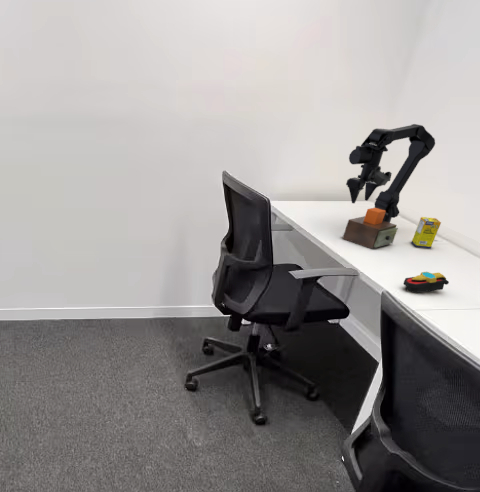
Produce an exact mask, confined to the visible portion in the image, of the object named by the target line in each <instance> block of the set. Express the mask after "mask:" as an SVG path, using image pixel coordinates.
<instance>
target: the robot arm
mask: <svg viewBox="0 0 480 492" xmlns="http://www.w3.org/2000/svg"><path fill="white" fill-rule="evenodd" d="M407 138H408V140H409V143H410V144H409V146H408V156H407V157H406V159H405V161H404V162H403V164H402V165H401V167H400V169H399V171H398V172H397V174H396V175H395V177H394V179H393V180H392V182H391V184H390V185H389V186H388V188H387V189H386V190H384V191H383V190H380V192H379V194H378V196H377V197H376V198H375V201H374V208H378V209H381V210H385V211H386V212H385V215H384V218H383V221H385V222H389V223H391V220H392V218H393V219H394V218H397V217H398V216H399V215H400V209H399V208H398V204H399V202H400V194H401V192H402V191H403V188H404V187H405V185H406V184H407V182H408V181H409V180H410V177H411V176H412V175H413V173H414V171H415V169H416V168H417V166H418V164H419V163H420V161H421V160H423V159H424V158H425V157H427V156H428V155H429V154H430V153H431V152H432V151H433V149H434V147H435V145H436V139H435V137H433V135H432V134H431V133H430V132H428V130H426V128H425V126H424V125H421V124H416V123H413V124H410V125H405V126H400V127H395V128H390V129H388V128H374V129H372V131H371V132H370V133H369V135H368V136H367V137H366V138H365V139H364V140H363V142H362V143H361V144H360V145H356V146H355V149H352V151H351V152H350V153H349V154H348V155H349V156H348V161H349V163H350V164H351V165H360V168H361V172H360V174H357V177H349V178H348V179H347V180H346V183H345V185H346V187H347V188H348V190H349V195H350V200H351V204H356V201H357V199H358V197H359V194H360V192H361V191H362V190H364V201H367V202H368V201H369V199H370V198H371V196H372V195H373V194H374V192H375V190H376V189H377V188H378V187H382V186H386V185H387V183H388V182H390V181H391V178H392V174H393V173H392V172H391V171H386V172H384V171H381V169H382V166H380V164H381V160H382V157H383V155H384V152H388V151H389V149H388V148H387V146H388V145H390V144H392V143H393V142H395V141H398V140H403V139H407Z"/></svg>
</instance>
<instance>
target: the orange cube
mask: <svg viewBox="0 0 480 492" xmlns="http://www.w3.org/2000/svg"><path fill="white" fill-rule="evenodd" d="M385 212H386V211H385V210H381V209H378V208H375V207H371V208H367V209H366V212H365V215H364V216H365V218H364V222H367V223H371V224H374V225H375V224H380V223H382V221H383V218H384V215H385Z"/></svg>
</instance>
